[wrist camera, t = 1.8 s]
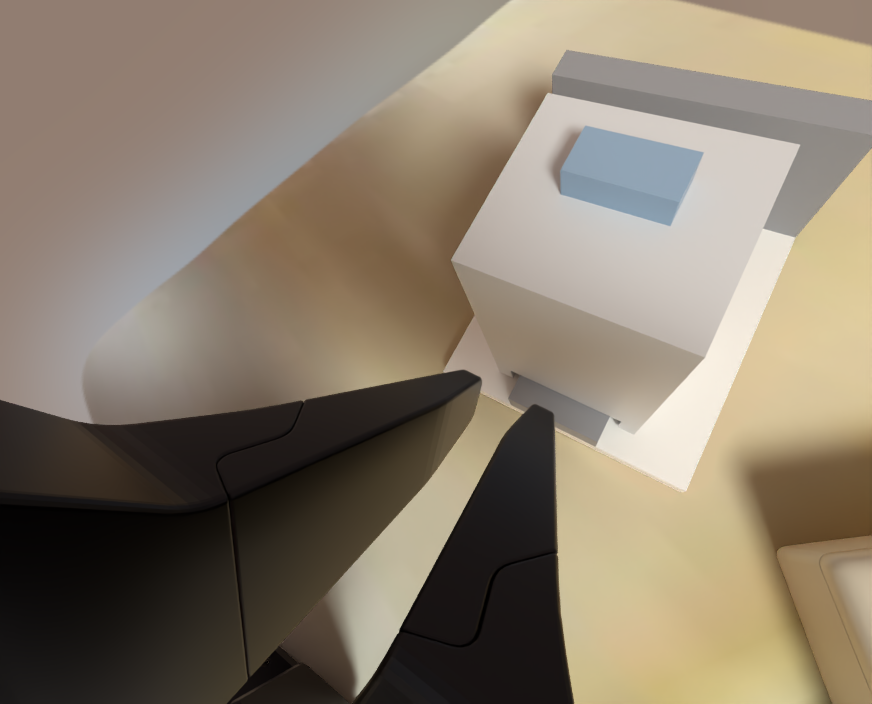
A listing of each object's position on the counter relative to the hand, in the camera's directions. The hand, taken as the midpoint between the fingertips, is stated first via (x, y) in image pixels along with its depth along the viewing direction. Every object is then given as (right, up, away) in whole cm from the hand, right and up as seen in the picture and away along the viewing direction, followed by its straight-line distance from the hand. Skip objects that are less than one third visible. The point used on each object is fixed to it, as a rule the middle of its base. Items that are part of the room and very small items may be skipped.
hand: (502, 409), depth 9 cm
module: (+5, +1, +10) cm, 11 cm away
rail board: (+6, +3, +11) cm, 13 cm away
